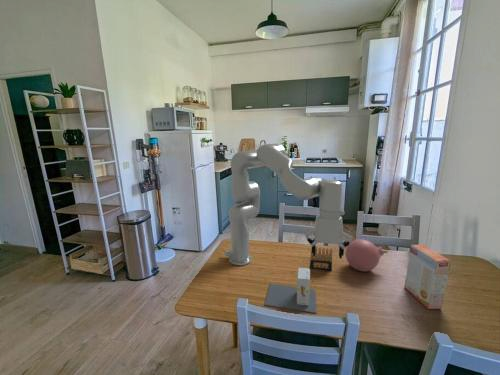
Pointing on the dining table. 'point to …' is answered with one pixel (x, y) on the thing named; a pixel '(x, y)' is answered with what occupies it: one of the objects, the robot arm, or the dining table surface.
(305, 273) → the ink box
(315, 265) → the ammunition clip
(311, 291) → the mat
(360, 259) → the pink balloon
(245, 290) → the dining table surface
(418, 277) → the cracker box
